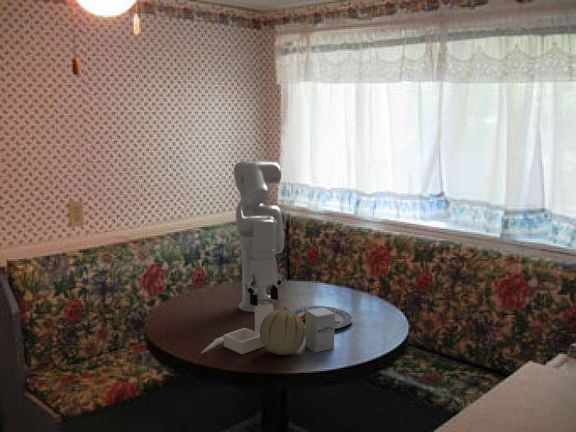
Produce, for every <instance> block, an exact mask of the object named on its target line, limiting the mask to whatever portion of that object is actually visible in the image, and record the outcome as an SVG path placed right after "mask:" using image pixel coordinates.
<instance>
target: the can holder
mask: <svg viewBox="0 0 576 432" xmlns="http://www.w3.org/2000/svg"><path fill="white" fill-rule="evenodd" d="M222 336H223V338H224V342H223V347H225V348H227V349H229V350H231V351H234V352H236V353H238V354H241V355H244V354H247V353H250V352H252V351H255V350H258V349H260V348H263V347H264V345H263V343H262V341H261V339H260V333H258V332H255V330H252V329H250V328H247V327H242V328H240V329H238V330H234V331H231V332H229V333H225V334H223V335H222Z"/></svg>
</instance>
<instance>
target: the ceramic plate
mask: <svg viewBox="0 0 576 432" xmlns="http://www.w3.org/2000/svg"><path fill="white" fill-rule="evenodd" d="M318 308H326V309H328V310H330V311H332V312H333V313H335V327H334V330H335V329H340V328H343V327H344V328H345V327H346V326H347V325H349V324H351V323H352V321H353V317H352V315H351V314H350V313H349V312H348V311H346V310H343V309H340V308H336V307H331V306H324V305H307V306H301V307H300V306H299V307H296V308H292V309H290V310H289V311H291V312H294V313H296V314H297V315H298V316H299V317H300V318H301V319H302V321H303V323H304V326H305V323H306V310H311V309H318Z"/></svg>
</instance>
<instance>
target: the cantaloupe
mask: <svg viewBox="0 0 576 432" xmlns="http://www.w3.org/2000/svg"><path fill="white" fill-rule="evenodd" d="M260 339H261V341H262V343H263V345H264V346H263V347H264V348H265V350H267V351H268V352H270V353H271V354H275V355H278V356H287V355H288V356H289V355H292V354H293V353H295V352H296V351H298V350H299V349H300V348H301V346H302V345H303V343H304V342H305V326H304V323H303V321H302V319H301V318H300V317H299V316H298V315H297V314H296V313H294V312H291V311H290V310H288V308H287V306H283V309H275V310H273V311H272V312H271V313H269V314H268V315H267V316H266V317H265V318H264V320H263V321H262V323H261V327H260Z"/></svg>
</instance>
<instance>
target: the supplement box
mask: <svg viewBox="0 0 576 432" xmlns="http://www.w3.org/2000/svg"><path fill="white" fill-rule="evenodd" d="M334 327H335V313H333V312H332V311H330V310H328V309H326V308H318V309H311V310H306V323H305V338H304V345H305V346H306V348H308V349H309V350H311V351H312V352H314V353H315V354H316V353H320V352H324V351H329V350H334V349H335V329H334Z"/></svg>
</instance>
